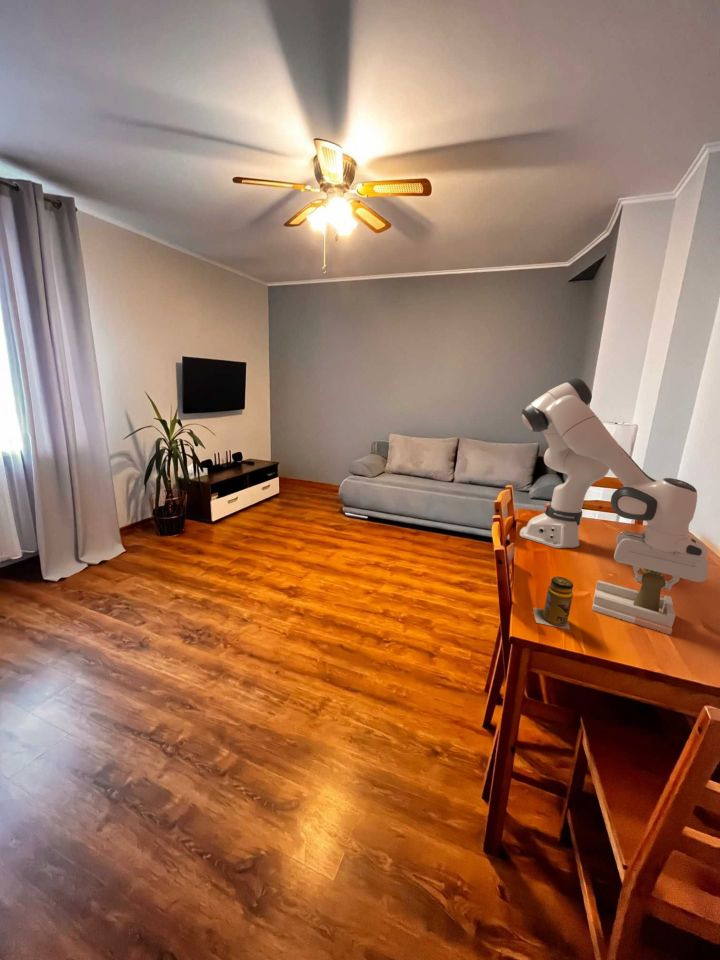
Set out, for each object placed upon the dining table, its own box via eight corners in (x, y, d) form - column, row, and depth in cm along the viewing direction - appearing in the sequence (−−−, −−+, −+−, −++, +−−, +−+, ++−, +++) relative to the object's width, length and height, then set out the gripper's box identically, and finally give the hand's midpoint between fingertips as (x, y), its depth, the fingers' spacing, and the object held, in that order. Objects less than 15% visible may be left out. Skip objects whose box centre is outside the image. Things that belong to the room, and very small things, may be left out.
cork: (663, 617, 105) (673, 581, 102) (639, 614, 106) (648, 578, 103) (650, 605, 111) (660, 571, 108) (628, 602, 111) (636, 568, 109)
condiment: (570, 630, 100) (579, 589, 97) (536, 623, 103) (543, 583, 100) (565, 614, 107) (573, 576, 104) (532, 608, 110) (539, 570, 106)
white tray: (592, 610, 110) (595, 594, 108) (595, 589, 121) (598, 575, 120) (670, 635, 100) (675, 618, 99) (666, 610, 111) (670, 595, 110)
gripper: (618, 532, 106) (607, 577, 109) (716, 553, 95) (700, 602, 98) (618, 526, 111) (608, 568, 114) (711, 545, 100) (697, 592, 103)
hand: (652, 584), depth 106 cm, fingers closed on cork, 5 cm apart
